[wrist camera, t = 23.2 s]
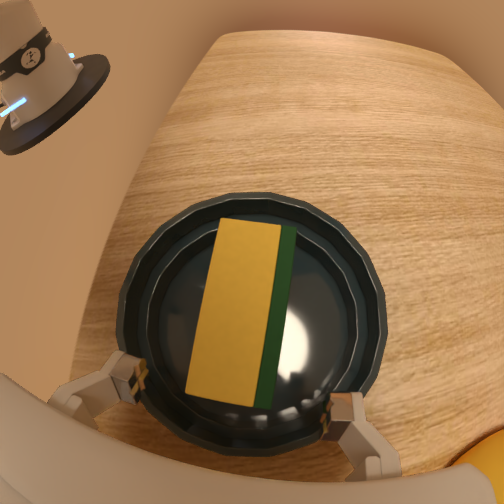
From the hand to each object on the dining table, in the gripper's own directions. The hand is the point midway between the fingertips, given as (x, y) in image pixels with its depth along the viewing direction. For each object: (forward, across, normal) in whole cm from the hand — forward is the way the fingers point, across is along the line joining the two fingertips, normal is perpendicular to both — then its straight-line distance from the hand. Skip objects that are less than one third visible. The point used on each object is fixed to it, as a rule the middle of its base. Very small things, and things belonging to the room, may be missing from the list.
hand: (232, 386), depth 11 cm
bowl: (+9, 0, -4) cm, 10 cm away
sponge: (+9, 0, -3) cm, 9 cm away
